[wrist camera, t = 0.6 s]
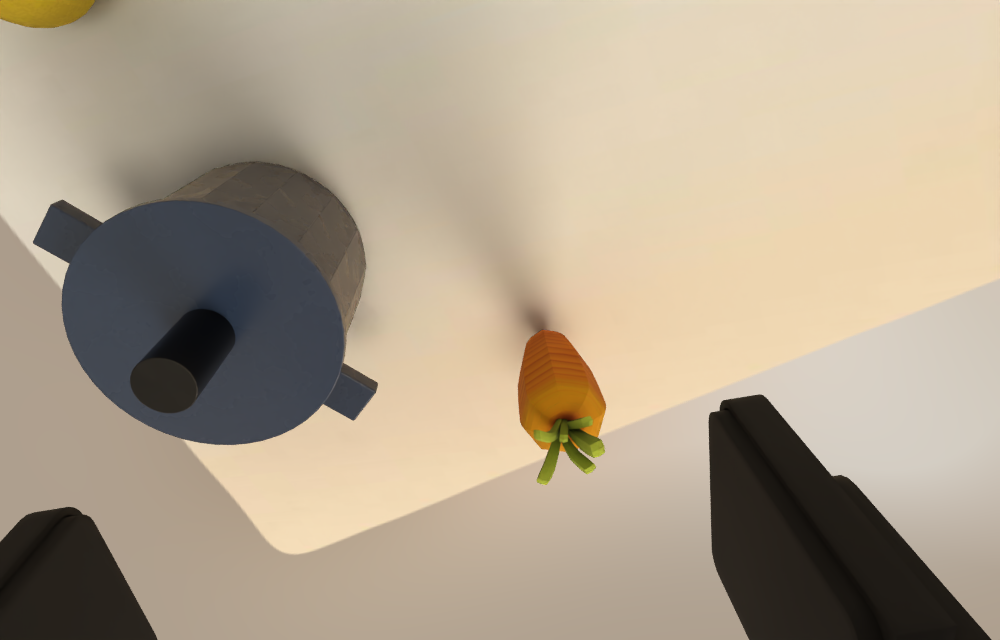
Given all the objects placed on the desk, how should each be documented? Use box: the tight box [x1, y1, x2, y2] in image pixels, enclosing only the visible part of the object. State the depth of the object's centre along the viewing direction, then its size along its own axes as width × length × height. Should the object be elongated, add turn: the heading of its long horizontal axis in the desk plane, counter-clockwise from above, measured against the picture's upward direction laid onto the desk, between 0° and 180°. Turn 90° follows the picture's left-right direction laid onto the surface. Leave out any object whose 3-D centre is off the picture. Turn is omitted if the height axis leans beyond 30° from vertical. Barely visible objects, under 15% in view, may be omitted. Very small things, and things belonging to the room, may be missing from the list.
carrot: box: [518, 330, 606, 485], centre depth 38 cm, size 5×5×15 cm
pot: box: [33, 162, 378, 420], centre depth 37 cm, size 13×18×10 cm
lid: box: [62, 197, 346, 445], centre depth 30 cm, size 14×14×6 cm
